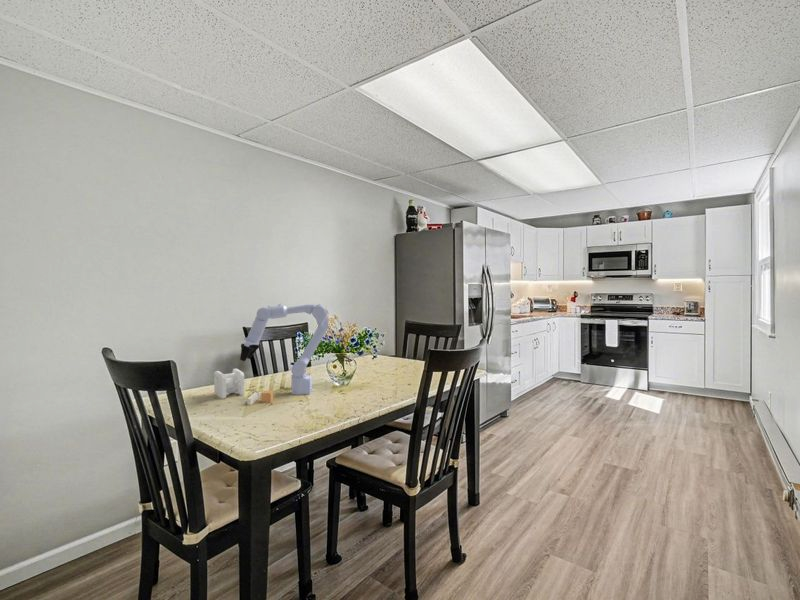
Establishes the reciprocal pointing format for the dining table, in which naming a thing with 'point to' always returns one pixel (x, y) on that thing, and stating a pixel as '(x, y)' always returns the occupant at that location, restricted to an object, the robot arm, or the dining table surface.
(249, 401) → the bar
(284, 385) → the dining table surface
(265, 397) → the plug block
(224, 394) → the cable organizer
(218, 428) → the dining table surface
